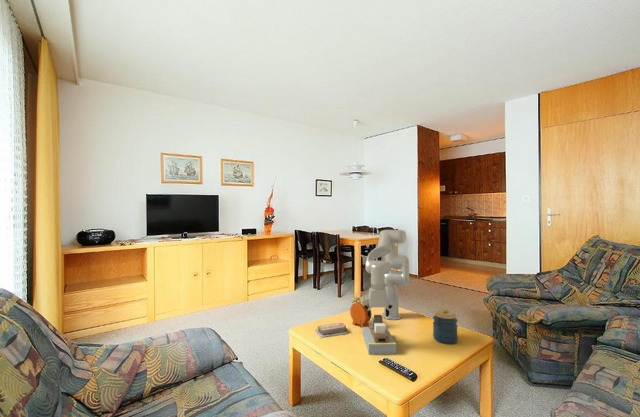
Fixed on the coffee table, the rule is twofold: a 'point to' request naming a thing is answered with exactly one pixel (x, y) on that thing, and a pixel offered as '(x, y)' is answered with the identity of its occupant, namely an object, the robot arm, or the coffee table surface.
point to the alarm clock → (359, 313)
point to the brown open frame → (378, 335)
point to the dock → (381, 345)
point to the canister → (445, 327)
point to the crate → (379, 327)
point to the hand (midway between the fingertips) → (378, 316)
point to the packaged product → (331, 330)
